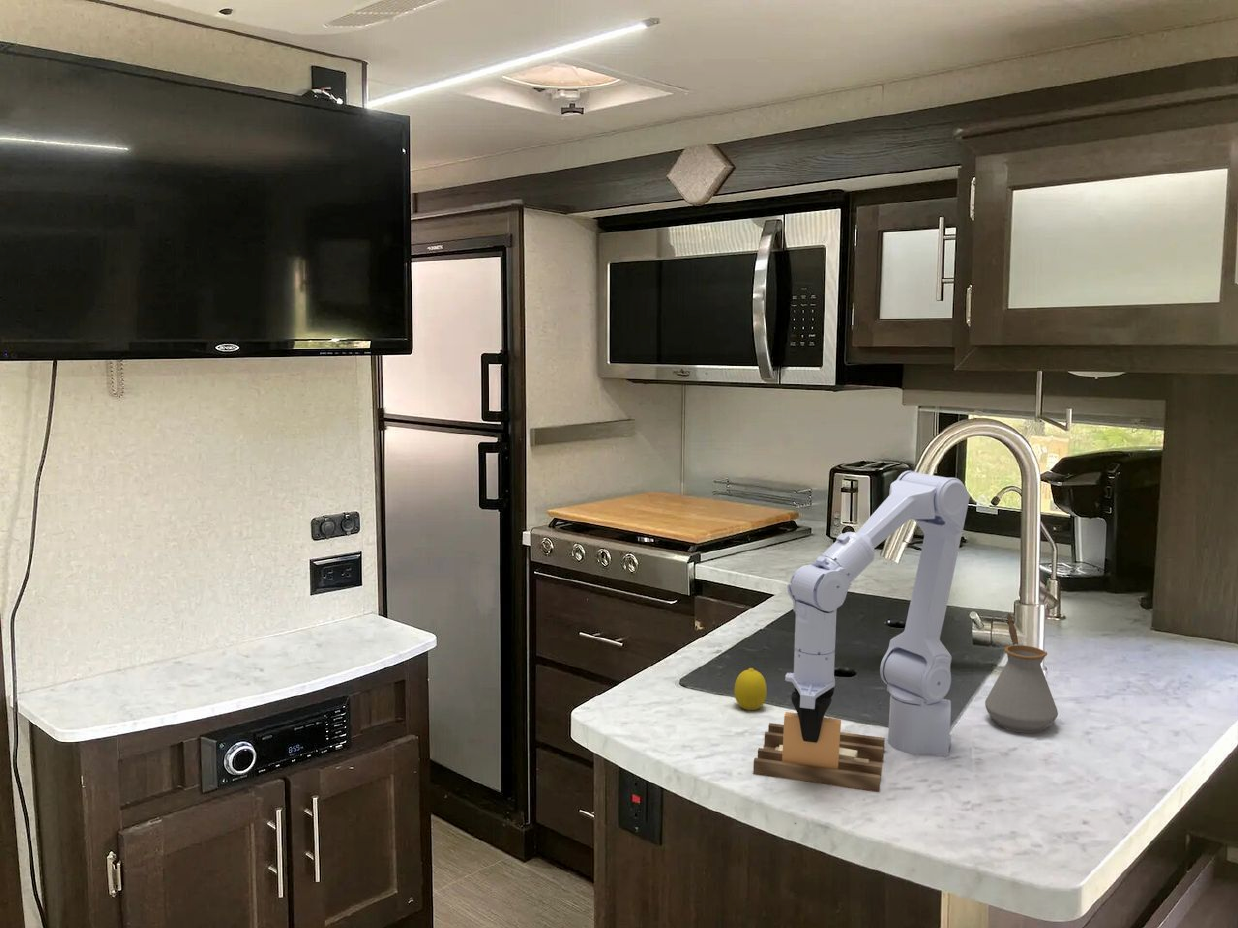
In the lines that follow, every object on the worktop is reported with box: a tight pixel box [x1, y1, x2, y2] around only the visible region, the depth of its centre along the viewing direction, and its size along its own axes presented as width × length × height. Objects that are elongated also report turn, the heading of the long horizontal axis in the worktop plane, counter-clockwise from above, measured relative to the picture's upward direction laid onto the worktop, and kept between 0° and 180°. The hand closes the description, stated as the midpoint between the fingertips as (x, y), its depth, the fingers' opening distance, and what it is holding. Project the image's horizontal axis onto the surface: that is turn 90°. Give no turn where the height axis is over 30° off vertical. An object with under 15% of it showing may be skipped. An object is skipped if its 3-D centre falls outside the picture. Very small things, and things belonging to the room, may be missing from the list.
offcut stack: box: [775, 745, 869, 763], centre depth 149 cm, size 14×4×2 cm, turn 72°
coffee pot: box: [984, 613, 1059, 734], centre depth 171 cm, size 21×12×15 cm, turn 168°
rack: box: [752, 722, 886, 793], centre depth 150 cm, size 18×16×3 cm
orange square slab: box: [782, 711, 842, 769], centre depth 145 cm, size 8×2×8 cm, turn 72°
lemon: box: [734, 667, 768, 711], centre depth 170 cm, size 6×6×8 cm
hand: (811, 737), depth 144 cm, fingers closed on orange square slab, 2 cm apart
